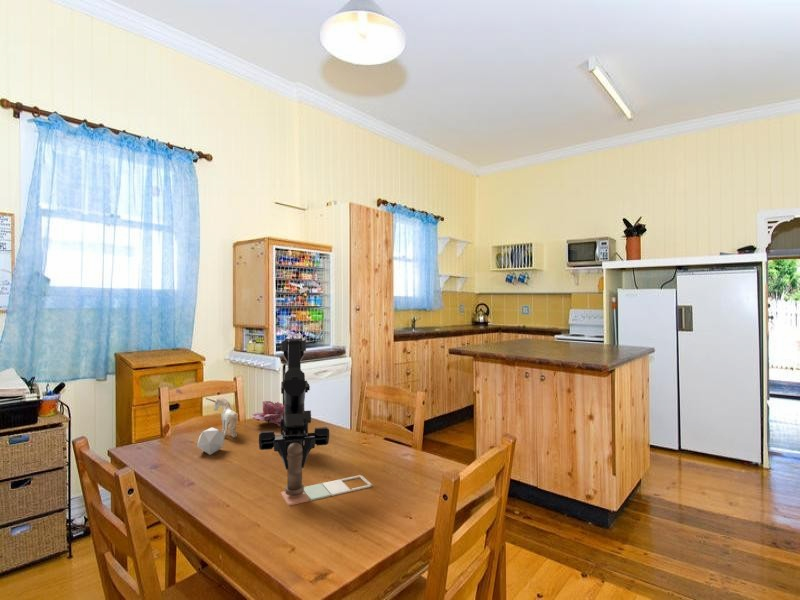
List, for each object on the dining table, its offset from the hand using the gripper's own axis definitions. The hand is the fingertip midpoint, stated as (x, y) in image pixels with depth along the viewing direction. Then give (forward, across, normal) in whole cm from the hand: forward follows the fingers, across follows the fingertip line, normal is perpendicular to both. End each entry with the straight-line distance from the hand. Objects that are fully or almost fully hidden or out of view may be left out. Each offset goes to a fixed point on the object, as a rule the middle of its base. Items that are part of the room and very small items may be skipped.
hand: (294, 468), depth 114 cm
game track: (+3, +9, +8) cm, 12 cm away
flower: (-44, -9, +56) cm, 71 cm away
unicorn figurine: (-36, -27, +48) cm, 66 cm away
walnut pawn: (+4, 0, +5) cm, 7 cm away
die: (-24, -27, +36) cm, 51 cm away
